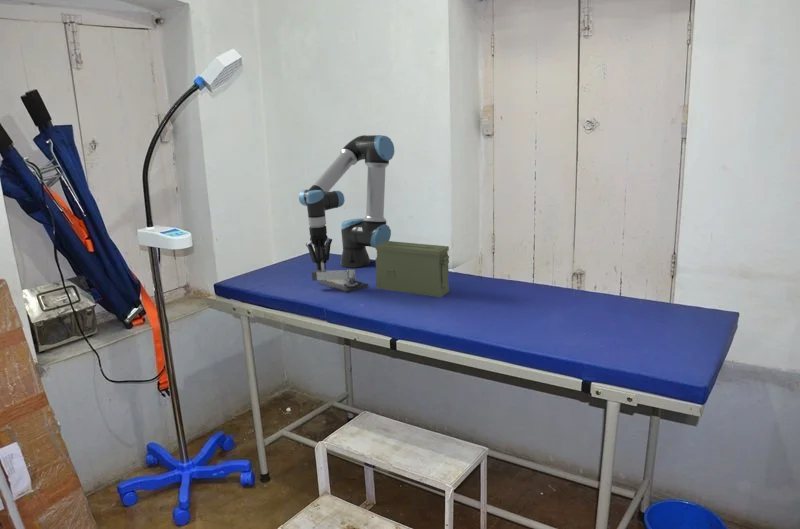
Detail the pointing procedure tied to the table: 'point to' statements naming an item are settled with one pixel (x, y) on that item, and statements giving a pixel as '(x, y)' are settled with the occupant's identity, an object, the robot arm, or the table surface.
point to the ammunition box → (412, 268)
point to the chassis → (343, 285)
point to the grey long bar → (334, 275)
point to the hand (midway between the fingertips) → (322, 276)
